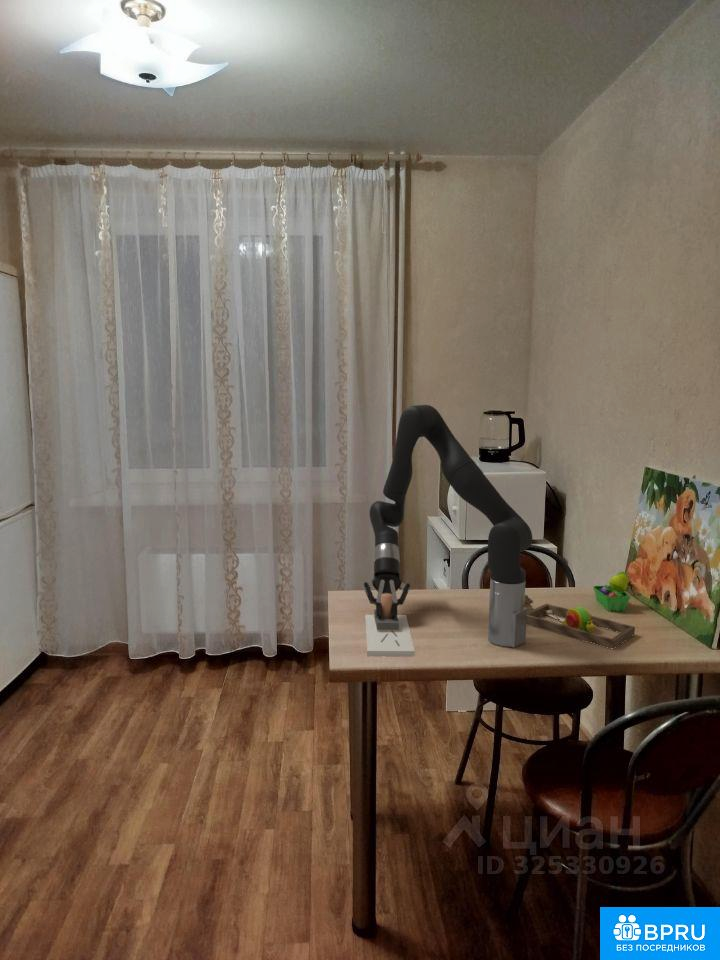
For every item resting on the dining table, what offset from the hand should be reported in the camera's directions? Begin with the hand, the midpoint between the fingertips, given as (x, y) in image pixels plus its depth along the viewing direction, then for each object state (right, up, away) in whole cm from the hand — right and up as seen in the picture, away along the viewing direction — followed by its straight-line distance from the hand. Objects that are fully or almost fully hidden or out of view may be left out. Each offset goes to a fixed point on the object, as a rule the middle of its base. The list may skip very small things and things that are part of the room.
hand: (386, 617), depth 181 cm
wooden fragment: (+42, -1, +28) cm, 51 cm away
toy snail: (+53, -4, +8) cm, 54 cm away
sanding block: (0, -2, +3) cm, 4 cm away
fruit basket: (+72, -2, +24) cm, 76 cm away
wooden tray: (+55, -4, +5) cm, 55 cm away
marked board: (0, -5, -2) cm, 5 cm away
